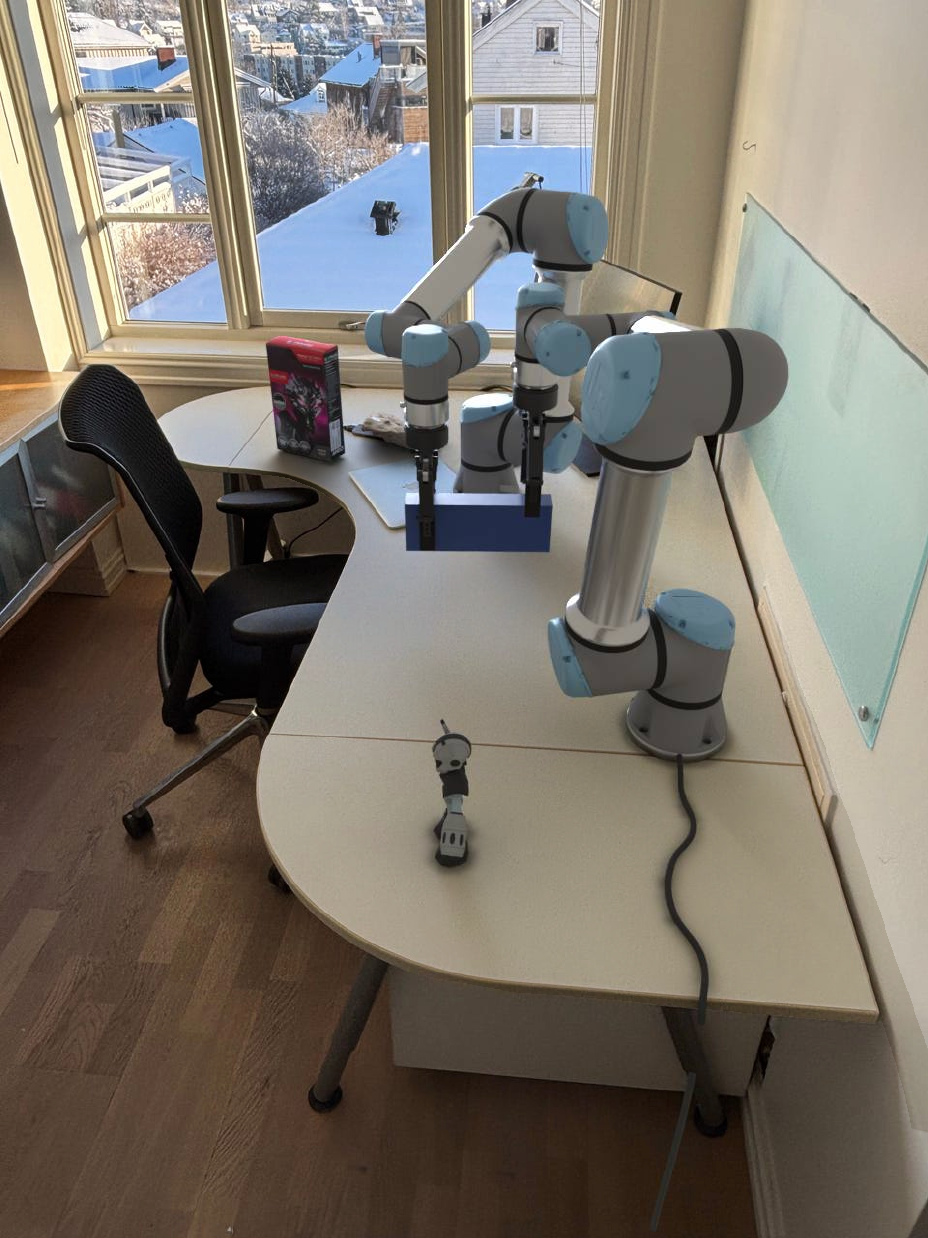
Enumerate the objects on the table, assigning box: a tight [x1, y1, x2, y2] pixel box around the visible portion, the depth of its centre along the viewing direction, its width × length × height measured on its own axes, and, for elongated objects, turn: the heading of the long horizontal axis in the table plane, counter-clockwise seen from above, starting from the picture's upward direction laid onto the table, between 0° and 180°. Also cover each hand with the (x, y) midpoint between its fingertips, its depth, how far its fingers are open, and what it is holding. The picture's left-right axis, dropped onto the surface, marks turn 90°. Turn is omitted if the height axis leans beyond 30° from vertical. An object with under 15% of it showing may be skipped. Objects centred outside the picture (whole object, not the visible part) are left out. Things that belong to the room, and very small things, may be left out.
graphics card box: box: [265, 335, 346, 462], centre depth 222 cm, size 17×7×27 cm, turn 62°
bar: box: [404, 492, 554, 553], centre depth 166 cm, size 26×4×9 cm, turn 90°
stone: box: [360, 412, 413, 450], centre depth 233 cm, size 21×15×6 cm
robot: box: [431, 718, 473, 868], centre depth 118 cm, size 20×5×20 cm, turn 3°
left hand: (428, 542), depth 168 cm, fingers closed on bar, 4 cm apart
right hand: (529, 498), depth 164 cm, fingers open, 13 cm apart
